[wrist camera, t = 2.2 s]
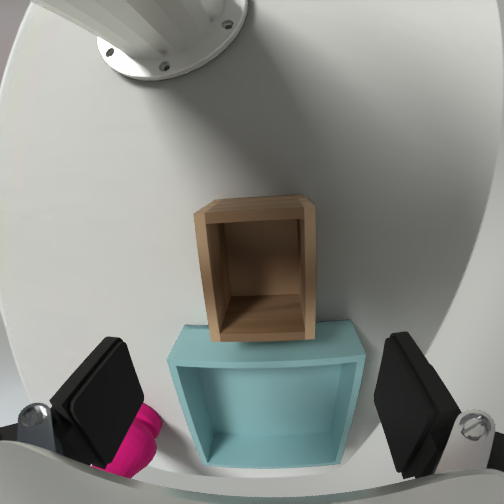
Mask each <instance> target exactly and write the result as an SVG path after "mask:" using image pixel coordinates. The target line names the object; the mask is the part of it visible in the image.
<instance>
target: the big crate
mask: <svg viewBox="0 0 504 504" xmlns="http://www.w3.org/2000/svg"><path fill="white" fill-rule="evenodd" d="M365 358H366V353H365V351H364V348H363V346H362V344H361V341H360V339H359V337H358V334H357V332H356V330H355V327H354V325H353V323H352V321H351V320H340V321H326V322H315V339H309V340H290V341H262V342H211V337H210V331H209V325H184V327H183V329H182V331H181V333H180V335H179V337H178V339H177V340H176V342H175V344H174V346H173V348H172V350H171V352H170V354H169V356H168V358H167V362H168V365H169V369H170V372H171V376H172V379H173V382H174V385H175V389H176V392H177V395H178V398H179V401H180V404H181V407H182V410H183V413H184V416H185V419H186V422H187V425H188V427H189V430H190V433H191V436H192V438H193V441H194V444H195V446H196V449H197V451H198V454H199V457H200V459H201V462H202V464H203V465H206V466H217V467H231V468H258V469H274V468H301V467H315V466H325V465H334V464H340V462H341V459H342V456H343V453H344V449H345V446H346V442H347V439H348V435H349V431H350V428H351V424H352V420H353V416H354V412H355V407H356V403H357V399H358V394H359V389H360V385H361V380H362V374H363V369H364V364H365Z"/></svg>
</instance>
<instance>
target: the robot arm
mask: <svg viewBox="0 0 504 504" xmlns="http://www.w3.org/2000/svg"><path fill="white" fill-rule="evenodd" d="M29 1H31V2H33V3H35V4H37V5H39V6H41V7H44V8H46V9H48V10H50V11H52V12H54V13H56V14H58V15H59V16H61V17H63V18H65V19H67V20H69V21H71V22H73V23H74V24H76V25H78V26H80V27H82V28H83V29H85V30H87V31H89V32H90V33H92V34H94V35H96V36H97V44H98V48H99V52H100V54H101V56H102V58H103V59H104V61H105V62H106V63H107V64H108V65H109V66H110V67H111V68H112V69H113V70H115V71H117V72H119V73H120V74H123V75H125V76H127V77H130V78H133V79H138V80H144V81H152V80H163V79H169V78H174V77H177V76H180V75H183V74H186V73H189V72H191V71H193V70H195V69H197V68H199V67H201V66H203V65H205V64H206V63H208V62H209V61H211V60H212V59H214V58H215V57H217V56H218V55H219V54H220V53H221V52H222V51H223V50H225V49H226V48H227V47H228V46H229V45H230V43H231V42H232V41H233V40H234V39H235V37H236V36H237V35H238V33H239V31H240V29H241V28H242V26H243V24H244V21H245V18H246V14H247V5H248V0H29ZM228 27H232V28H230V29H227V28H228ZM168 67H170V68H169V69H168V70H167V71H166V69H167V68H168ZM50 402H51V404H52V407H51V408H49V407H48V406H47V405H46V404H44V403H33V404H30V405H28V406H26V407H25V408H24V409H23V410H22V411H21V412H20V414H19V416H18V423H16V424H12V425H9V426H4V427H0V504H504V434H502V433H499V432H495V423H494V421H493V419H492V418H491V417H490V415H488V414H487V413H486V412H483V411H481V410H475V409H472V410H467V411H464V412H461V411H460V409H459V407H458V406H457V404H456V402H455V401H454V399H453V397H452V396H451V394H450V393H449V391H448V389H447V388H446V386H445V385H444V383H443V382H442V380H441V379H440V377H439V376H438V374H437V372H436V371H435V369H434V368H433V366H432V365H430V364H429V363H428V361H427V359H426V358H425V356H424V355H423V353H422V352H421V350H420V349H419V347H418V346H417V344H416V343H415V342H414V340H413V339H412V337H411V336H410V334H409V333H408V332H399V333H392V334H391V335H390V338H387V339H386V340H385V345H384V350H383V356H382V361H381V366H380V370H379V375H378V379H377V384H376V388H375V392H374V403H375V406H376V409H377V412H378V415H379V418H380V421H381V424H382V427H383V429H384V433H385V435H386V439H387V442H388V445H389V448H390V452H391V455H392V458H393V462H394V465H395V468H396V471H397V472H398V473H399V472H401V473H402V476H403V479H406V478H410V477H413V476H415V479H412V480H408V481H404V482H400V483H395V484H391V485H386V486H381V487H376V488H371V489H365V490H359V491H352V492H345V493H338V494H329V495H319V496H305V497H282V498H281V497H271V498H270V497H268V498H267V497H239V496H225V495H215V494H206V493H199V492H192V491H185V490H179V489H174V488H168V487H163V486H158V485H154V484H149V483H145V482H141V481H137V480H133V479H130V478H126V477H123V476H119V475H116V474H113V473H109V472H106V471H103V470H100V469H97V468H94V467H92V466H90V465H91V464H92V465H93V466H95V467H98V468H101V469H104V470H105V469H106V467H107V465H108V464H110V463H111V462H112V461H113V459H114V457H115V455H116V453H117V451H118V450H119V448H120V446H121V444H122V442H123V440H124V438H125V436H126V434H127V432H128V430H129V428H130V426H131V425H132V423H133V421H134V419H135V417H136V415H137V413H138V411H139V409H140V408H141V406H142V404H143V402H144V394H143V391H142V388H141V386H140V383H139V380H138V377H137V375H136V372H135V369H134V366H133V363H132V360H131V357H130V354H129V351H128V347H127V345H126V343H125V342H123V340H122V339H121V338H117V337H105V338H104V339H103V340H102V342H101V343H100V344H99V345H98V346H97V347H96V348H95V349H94V350H93V351H92V353H91V354H90V355H89V356H88V357H87V358H86V359H85V360H84V361H83V363H82V364H81V365H80V366H79V367H78V368H77V369H76V370H75V372H74V373H73V374H72V375H71V376H70V377H69V378H68V380H67V381H66V382H65V383H64V384H63V385H62V386H61V388H60V389H59V390H58V391H57V392H56V393H55V395H54V396H53V397H52V398H51V399H50Z"/></svg>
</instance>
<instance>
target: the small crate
mask: <svg viewBox="0 0 504 504" xmlns="http://www.w3.org/2000/svg"><path fill="white" fill-rule="evenodd" d="M194 222H195V231H196V239H197V248H198V256H199V263H200V271H201V278H202V285H203V292H204V299H205V306H206V312H207V319H208V325H209V331H210V337H211V342H262V341H290V340H309V339H315V318H316V207H315V206H314V205H313V204H312V203H311V202H310V201H309V199H308V198H307V197H306V196H305V195H284V196H264V197H247V198H233V199H219V200H214V201H213V202H211V203H209V204H208V205H206V206H205V207H203V208H202V209H200V210H199V211H197V212H195V213H194Z"/></svg>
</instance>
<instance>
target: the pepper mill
mask: <svg viewBox="0 0 504 504" xmlns="http://www.w3.org/2000/svg"><path fill="white" fill-rule="evenodd" d="M161 426H162V422H161V419H160V417H159V416H158V414H157V413H156V412H155V411H154V410H153V409H151V408H150V407H149V406H147V405H145V404H144V403H143V404H142V406H141V408H140V409H139V411H138V413H137V415H136V417H135V419H134V421H133V423H132V425H131V426H130V428H129V430H128V432H127V434H126V436H125V438H124V440H123V442H122V444H121V446H120V448H119V450H118V451H117V453H116V455H115V457H114V459H113V461H112V462H111V463H110V464H108V465H107V467H106V469H105V470H104V469H101V468H98V467H95V466H93V465H92V467H94V468H97V469H100V470H103V471H106V472H109V473H113V474H116V475H119V476H123V477H126V478H130V479H131V478H132V477H133V476H134V475H135V474H136V473H138V472H139V471H141V470H142V469H143V468H144V467H146V466H147V465H148V464H149V463H150V462H151V460H152V459H153V457H154V455H155V453H156V449H157V446H156V442H155V440H154V439H155V438H156V437H157V436H158V434H159V431H160V429H161Z"/></svg>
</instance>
